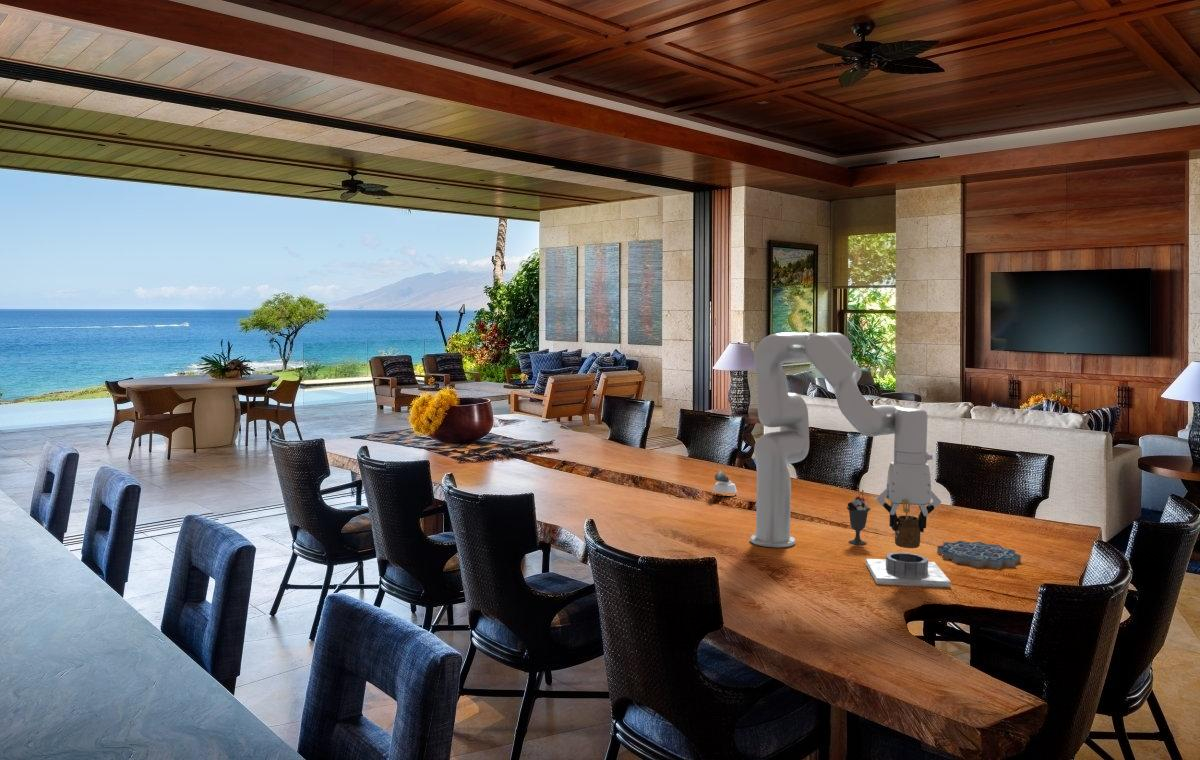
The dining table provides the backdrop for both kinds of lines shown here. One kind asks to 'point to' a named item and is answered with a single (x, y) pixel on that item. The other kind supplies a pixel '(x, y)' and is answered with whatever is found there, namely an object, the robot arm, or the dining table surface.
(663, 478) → the dining table surface
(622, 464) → the dining table surface
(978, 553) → the decorative tile
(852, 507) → the sundae
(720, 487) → the inkwell
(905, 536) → the utensil holder
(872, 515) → the dining table surface
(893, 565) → the collar stand
